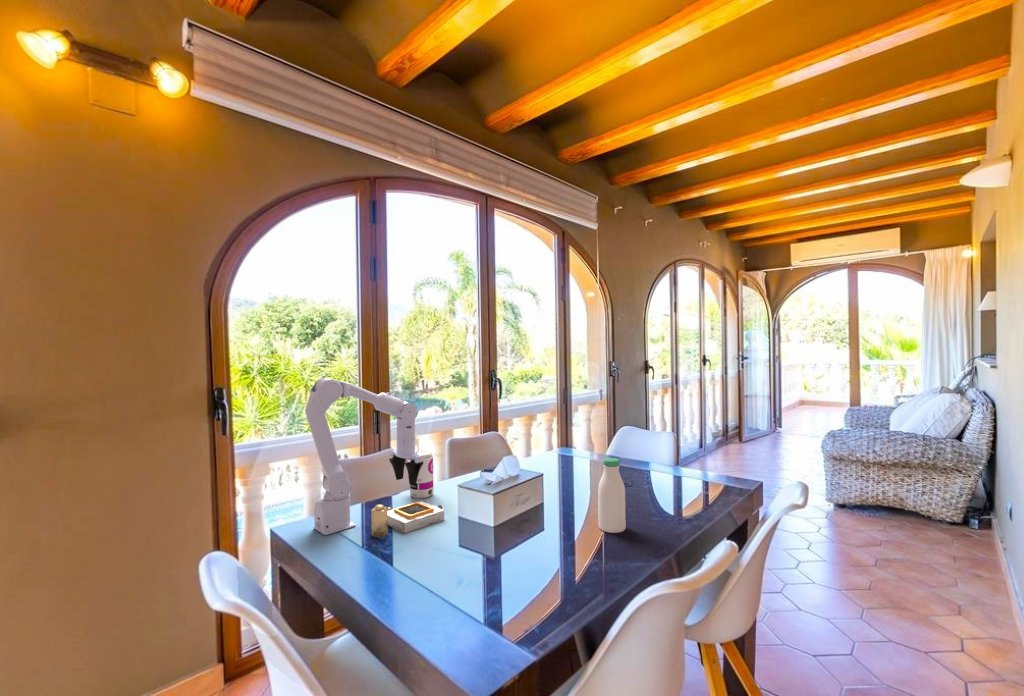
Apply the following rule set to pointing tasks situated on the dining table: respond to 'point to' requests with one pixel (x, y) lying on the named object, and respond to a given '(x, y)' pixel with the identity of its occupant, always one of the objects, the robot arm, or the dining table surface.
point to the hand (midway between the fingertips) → (406, 481)
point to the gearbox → (415, 516)
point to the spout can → (380, 520)
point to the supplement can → (424, 477)
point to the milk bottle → (611, 498)
